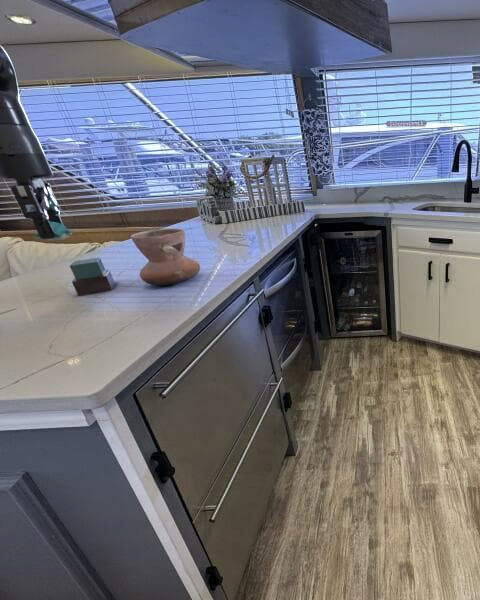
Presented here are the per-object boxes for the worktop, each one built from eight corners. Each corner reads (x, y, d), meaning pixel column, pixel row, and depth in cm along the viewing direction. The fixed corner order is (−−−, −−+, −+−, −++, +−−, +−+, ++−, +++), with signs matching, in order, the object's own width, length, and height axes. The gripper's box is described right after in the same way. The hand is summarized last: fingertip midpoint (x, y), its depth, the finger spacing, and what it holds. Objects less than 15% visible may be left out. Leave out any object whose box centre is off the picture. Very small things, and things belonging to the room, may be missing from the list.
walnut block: (78, 295, 85) (71, 281, 83) (83, 288, 90) (77, 275, 89) (111, 289, 88) (106, 275, 87) (114, 282, 94) (109, 269, 92)
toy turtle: (75, 236, 74) (68, 219, 72) (74, 240, 69) (66, 222, 67) (39, 240, 70) (30, 222, 69) (35, 245, 65) (26, 226, 64)
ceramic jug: (210, 280, 92) (195, 231, 87) (149, 295, 83) (129, 241, 78) (193, 268, 104) (180, 224, 99) (139, 280, 95) (120, 232, 90)
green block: (76, 280, 84) (69, 265, 83) (80, 275, 89) (73, 261, 87) (103, 275, 87) (97, 261, 86) (105, 271, 91) (100, 257, 90)
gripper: (3, 153, 66) (40, 232, 73) (-30, 150, 55) (17, 244, 62) (52, 153, 70) (84, 228, 77) (31, 150, 59) (70, 238, 66)
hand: (54, 235), depth 69 cm, fingers closed on toy turtle, 7 cm apart
